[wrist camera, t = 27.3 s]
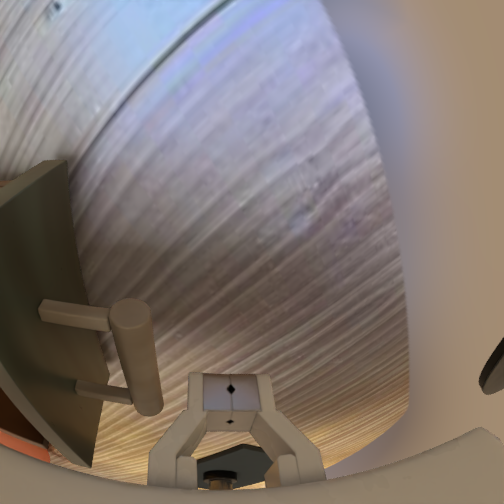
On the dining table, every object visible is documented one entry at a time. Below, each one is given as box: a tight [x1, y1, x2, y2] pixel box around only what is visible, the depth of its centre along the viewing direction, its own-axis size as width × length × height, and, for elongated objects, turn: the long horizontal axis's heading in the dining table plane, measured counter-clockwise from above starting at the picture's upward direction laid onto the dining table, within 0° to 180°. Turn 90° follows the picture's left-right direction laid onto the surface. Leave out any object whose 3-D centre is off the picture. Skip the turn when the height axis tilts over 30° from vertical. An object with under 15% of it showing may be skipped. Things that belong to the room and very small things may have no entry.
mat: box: [197, 444, 274, 489], centre depth 32 cm, size 20×14×1 cm
